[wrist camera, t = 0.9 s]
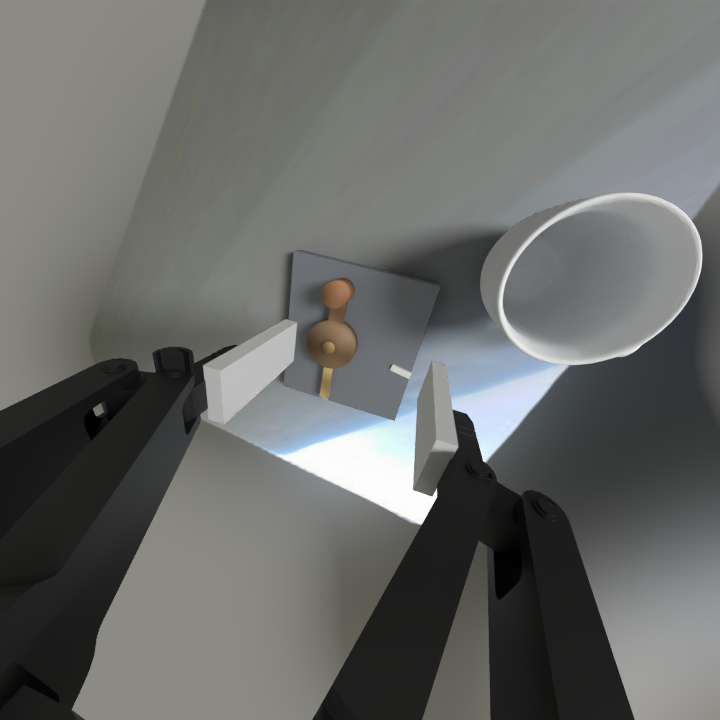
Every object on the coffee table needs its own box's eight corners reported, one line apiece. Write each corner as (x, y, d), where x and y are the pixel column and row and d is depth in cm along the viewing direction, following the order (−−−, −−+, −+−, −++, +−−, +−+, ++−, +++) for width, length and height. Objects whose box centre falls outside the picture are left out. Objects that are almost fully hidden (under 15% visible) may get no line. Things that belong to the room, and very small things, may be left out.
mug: (633, 287, 26) (793, 322, 15) (536, 357, 32) (599, 423, 20) (532, 186, 25) (624, 140, 13) (447, 277, 30) (461, 299, 19)
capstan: (320, 271, 31) (306, 275, 27) (370, 284, 30) (363, 290, 27) (306, 387, 39) (294, 402, 35) (345, 399, 38) (337, 416, 34)
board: (300, 249, 33) (292, 250, 31) (440, 284, 31) (441, 287, 28) (289, 379, 42) (282, 386, 40) (396, 412, 40) (394, 422, 38)
